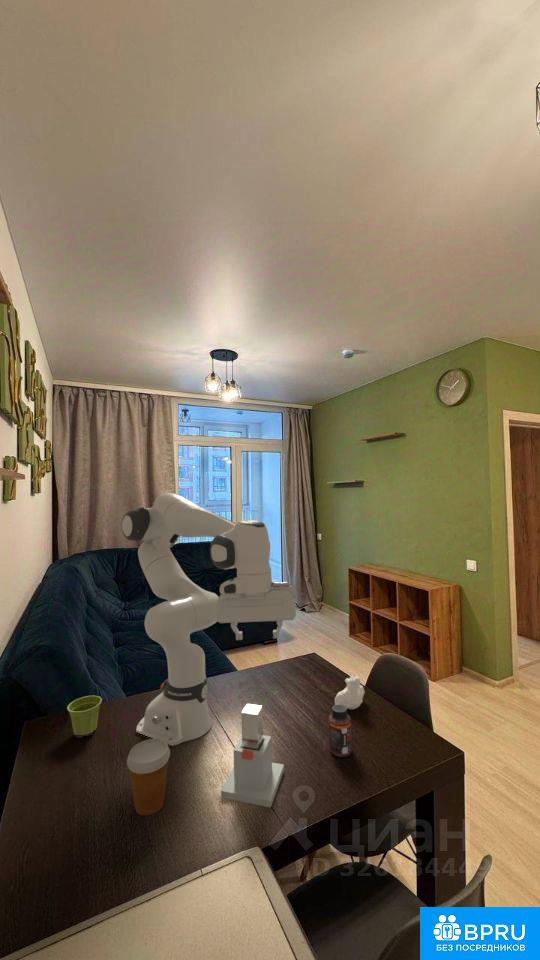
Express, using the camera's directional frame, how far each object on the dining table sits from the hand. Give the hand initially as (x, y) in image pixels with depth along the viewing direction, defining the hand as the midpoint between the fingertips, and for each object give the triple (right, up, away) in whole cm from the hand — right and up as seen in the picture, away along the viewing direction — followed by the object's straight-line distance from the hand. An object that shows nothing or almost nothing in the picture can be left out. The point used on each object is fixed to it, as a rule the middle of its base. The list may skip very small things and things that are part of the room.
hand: (257, 638), depth 98 cm
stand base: (-1, -33, -5) cm, 33 cm away
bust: (+30, -34, +28) cm, 53 cm away
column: (-1, -32, -4) cm, 32 cm away
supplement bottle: (+22, -33, +6) cm, 40 cm away
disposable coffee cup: (-24, -34, -10) cm, 43 cm away
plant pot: (-52, -36, +18) cm, 66 cm away
